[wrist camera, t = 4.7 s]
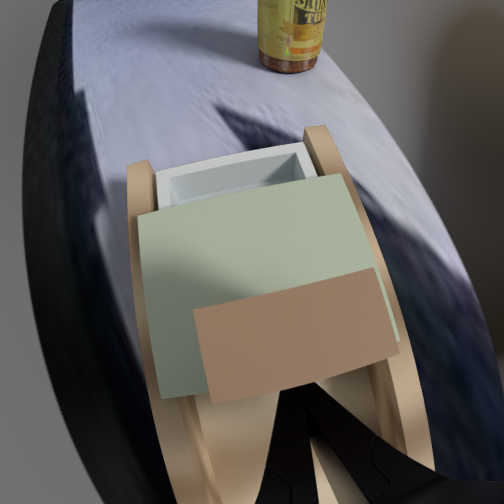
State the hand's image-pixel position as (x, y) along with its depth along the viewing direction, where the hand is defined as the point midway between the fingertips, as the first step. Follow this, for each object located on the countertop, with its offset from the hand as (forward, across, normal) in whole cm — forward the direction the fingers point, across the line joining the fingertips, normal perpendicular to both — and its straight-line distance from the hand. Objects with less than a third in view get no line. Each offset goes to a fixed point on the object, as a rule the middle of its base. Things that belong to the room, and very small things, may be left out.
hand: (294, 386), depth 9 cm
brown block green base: (+6, 0, -1) cm, 6 cm away
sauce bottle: (+26, -8, -14) cm, 30 cm away
